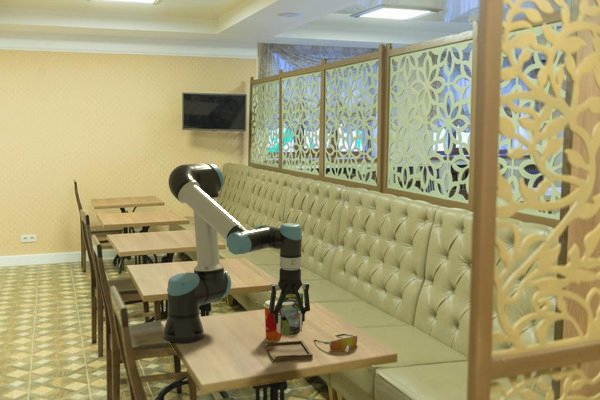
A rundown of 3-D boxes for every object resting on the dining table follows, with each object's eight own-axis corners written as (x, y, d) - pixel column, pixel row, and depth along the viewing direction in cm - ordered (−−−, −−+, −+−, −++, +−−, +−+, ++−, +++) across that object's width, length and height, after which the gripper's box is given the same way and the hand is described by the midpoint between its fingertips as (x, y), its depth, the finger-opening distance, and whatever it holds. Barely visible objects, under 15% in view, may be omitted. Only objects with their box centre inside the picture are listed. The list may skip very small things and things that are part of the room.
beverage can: (297, 339, 228) (298, 305, 226) (276, 337, 229) (277, 304, 228) (301, 333, 234) (301, 300, 232) (281, 331, 236) (281, 299, 234)
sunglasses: (333, 354, 233) (332, 340, 233) (309, 347, 246) (308, 334, 246) (364, 347, 241) (363, 334, 241) (339, 340, 254) (339, 327, 253)
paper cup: (268, 333, 253) (269, 298, 251) (286, 336, 250) (287, 301, 248) (259, 339, 245) (260, 303, 243) (278, 343, 243) (279, 306, 241)
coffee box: (281, 324, 264) (282, 292, 262) (284, 322, 267) (285, 290, 265) (300, 326, 261) (301, 295, 259) (303, 324, 264) (304, 293, 262)
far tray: (265, 347, 238) (265, 342, 238) (302, 345, 241) (302, 340, 241) (273, 362, 224) (273, 357, 224) (312, 359, 228) (312, 354, 228)
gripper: (264, 271, 222) (263, 336, 226) (320, 269, 227) (319, 332, 231) (260, 266, 230) (259, 329, 233) (314, 264, 235) (313, 325, 238)
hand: (289, 330), depth 232 cm, fingers closed on beverage can, 7 cm apart
